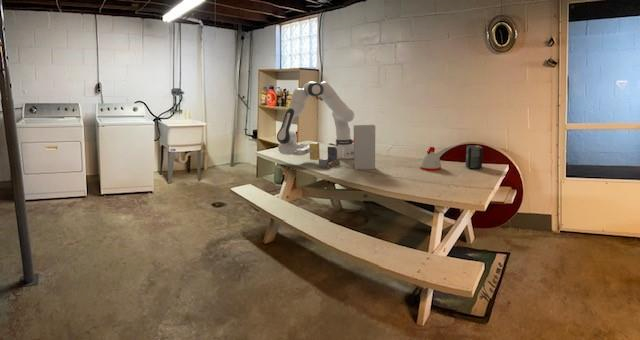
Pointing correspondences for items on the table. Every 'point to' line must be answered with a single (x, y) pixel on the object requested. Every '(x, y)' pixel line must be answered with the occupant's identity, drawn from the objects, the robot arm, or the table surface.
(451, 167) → the table surface
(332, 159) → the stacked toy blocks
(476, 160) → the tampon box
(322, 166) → the bookend
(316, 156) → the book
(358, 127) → the tall grey box
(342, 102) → the robot arm
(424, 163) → the grey and red dome
